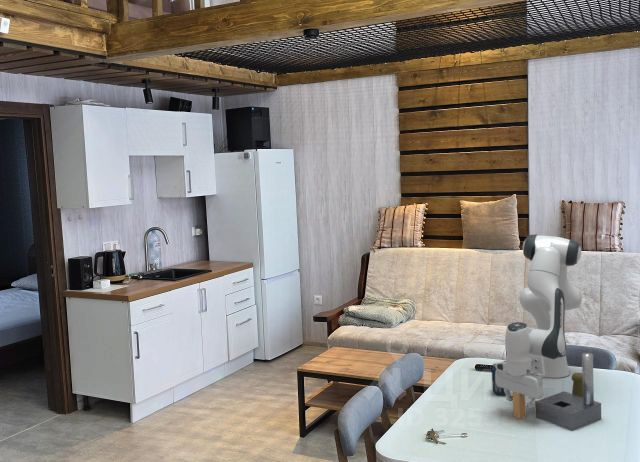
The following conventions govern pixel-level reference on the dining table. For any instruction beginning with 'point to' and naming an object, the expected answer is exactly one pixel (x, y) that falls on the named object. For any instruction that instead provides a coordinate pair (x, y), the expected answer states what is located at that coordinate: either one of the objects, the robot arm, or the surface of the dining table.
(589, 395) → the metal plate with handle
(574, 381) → the cork
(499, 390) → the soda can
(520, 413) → the orange brown rectangular block
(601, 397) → the dining table surface
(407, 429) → the dining table surface
